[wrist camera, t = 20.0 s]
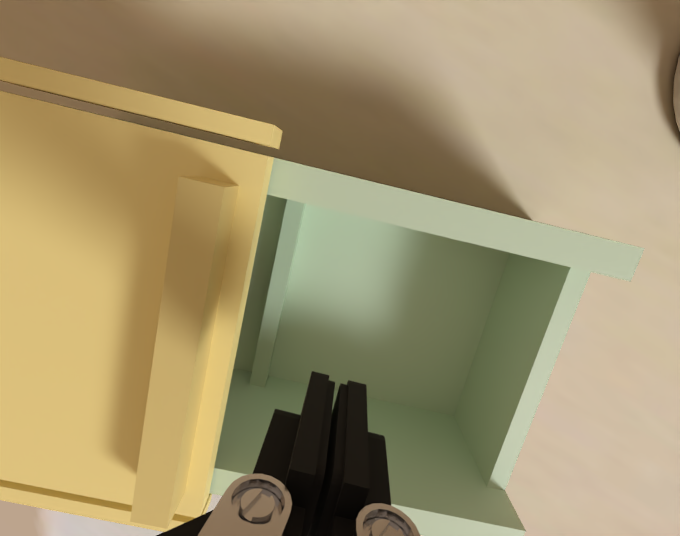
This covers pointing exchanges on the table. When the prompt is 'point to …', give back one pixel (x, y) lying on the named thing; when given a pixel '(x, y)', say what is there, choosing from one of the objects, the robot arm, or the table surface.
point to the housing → (409, 333)
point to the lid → (120, 296)
